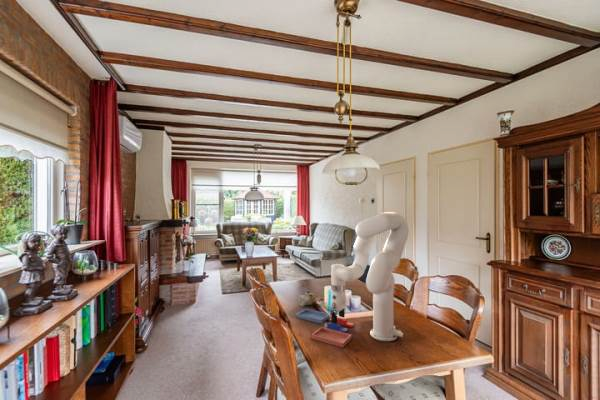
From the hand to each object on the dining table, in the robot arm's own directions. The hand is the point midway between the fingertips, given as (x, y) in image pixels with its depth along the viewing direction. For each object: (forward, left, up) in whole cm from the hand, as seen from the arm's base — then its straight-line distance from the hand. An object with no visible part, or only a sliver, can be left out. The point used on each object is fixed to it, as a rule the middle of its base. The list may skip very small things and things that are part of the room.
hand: (338, 319), depth 151 cm
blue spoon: (-3, +8, -2) cm, 9 cm away
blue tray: (+15, 0, -2) cm, 15 cm away
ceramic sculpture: (+27, -16, -2) cm, 32 cm away
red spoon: (-3, 0, -2) cm, 3 cm away
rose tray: (-5, +18, -2) cm, 19 cm away
